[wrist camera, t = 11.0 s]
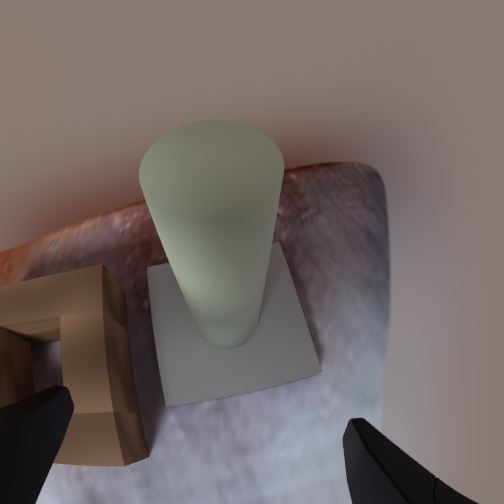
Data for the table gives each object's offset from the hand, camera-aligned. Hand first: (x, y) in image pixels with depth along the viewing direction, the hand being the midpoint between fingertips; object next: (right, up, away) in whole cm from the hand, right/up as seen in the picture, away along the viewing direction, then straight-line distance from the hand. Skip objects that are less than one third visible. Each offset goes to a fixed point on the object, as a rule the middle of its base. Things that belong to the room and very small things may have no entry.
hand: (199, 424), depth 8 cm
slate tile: (0, +1, +11) cm, 11 cm away
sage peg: (0, +1, +10) cm, 10 cm away
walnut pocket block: (-11, -3, +8) cm, 14 cm away
